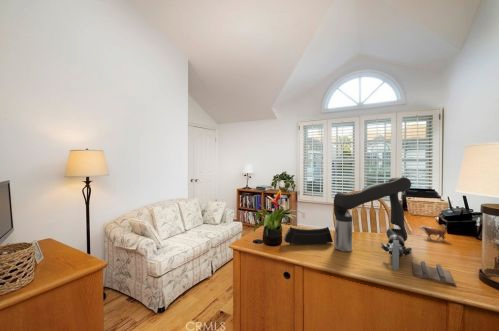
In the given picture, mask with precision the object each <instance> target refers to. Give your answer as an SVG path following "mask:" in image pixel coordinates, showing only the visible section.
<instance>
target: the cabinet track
mask: <svg viewBox="0 0 499 331" xmlns="http://www.w3.org/2000/svg"><path fill="white" fill-rule="evenodd" d="M435 265H436V266H435V267H434V266H428V265H427V263H426V261H425V260H420V263H416V262H415V263H414V262H412V272H413V277H414V278H420V279H424V280H428V281H432V282H436V283H441V284H444V285H449V286H453V287H456V285H457V284H456V281H455V279H454V277H453V274H452V272H451V271H450V270H448V269H443V267H442V265H441V264H439V263H436V264H435Z"/></svg>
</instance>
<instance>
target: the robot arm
mask: <svg viewBox="0 0 499 331" xmlns="http://www.w3.org/2000/svg"><path fill="white" fill-rule="evenodd" d="M411 187H412V182H411V180H410V179H409V178H408V177H406V176H397V177H396V176H395V177H391V178H389V179H388V182H379V183H374V184H371V185H366V186H365V187H363V188H362V190H361V191H358V192H355V193H345V192H341V191H340V192H337V193H336V194H335V195H334V197H333V214H334V217H335V221H334V222H335V225H334V226H335V230H334V234H333V236H334V237H333V240H334V241H333V244H334V245H333V246H334V248H333V249H336V250H338V251H341V252H351V251H352V250H353V216H352V215H351V213H350V212H349V211H348V210H353V209H355V208H357V207H359V206H362V205H363V204H367V203H370V202H373V201H377V200H380V199H383V198H386V197H389V201H390V223H391V224H392V225H395V226H397V227H399V229H398V228H393V227H390V228H387V229H386V236H387V238H388V241H387V243H385V242H381V249H382V250H384V251H385V253H387V252H388V254H389V255H390V256H393V240H399V258H402V257H403V256H409V255H411V254H412V251H413V250H412V249H413V248H412V247H406V244H405V242H406V241H407V240H408V234H407V231H406V228H405V210H404V207H403V206H402V204H401V202H400V199H399V193H403V192H407V191H409V190H410V189H411Z"/></svg>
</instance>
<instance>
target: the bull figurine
mask: <svg viewBox="0 0 499 331" xmlns="http://www.w3.org/2000/svg"><path fill="white" fill-rule="evenodd" d="M419 229H420V230H422V231H423V232H424V234H426V235H427V237H426V240H429V239H431V236H432V235H433V236H435V237H437V236H438V237H437V238H436V240H440V239H441V241H442V242H444V241H445V238H446V237H445V235H446V233H447V232H446V229H441V228H433V227H429V226H425V225H421V226H420V227H419Z"/></svg>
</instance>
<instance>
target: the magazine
mask: <svg viewBox="0 0 499 331" xmlns="http://www.w3.org/2000/svg"><path fill="white" fill-rule="evenodd" d="M283 240H284V242H285V243H287V244H289V245H290V246H291V245H300V246H319V245H324V244H330V243H334V241H333V240H334V239H333V237H332V234H331V231H330V228H329V227H328V226H327V227H324V228H315V229H314V228H313V229H312V228H311V229H304V228H303V229H302V228H296V227H292V226H290V227H289V228H288V229H287V231H286V232H285V234H284V238H283Z"/></svg>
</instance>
